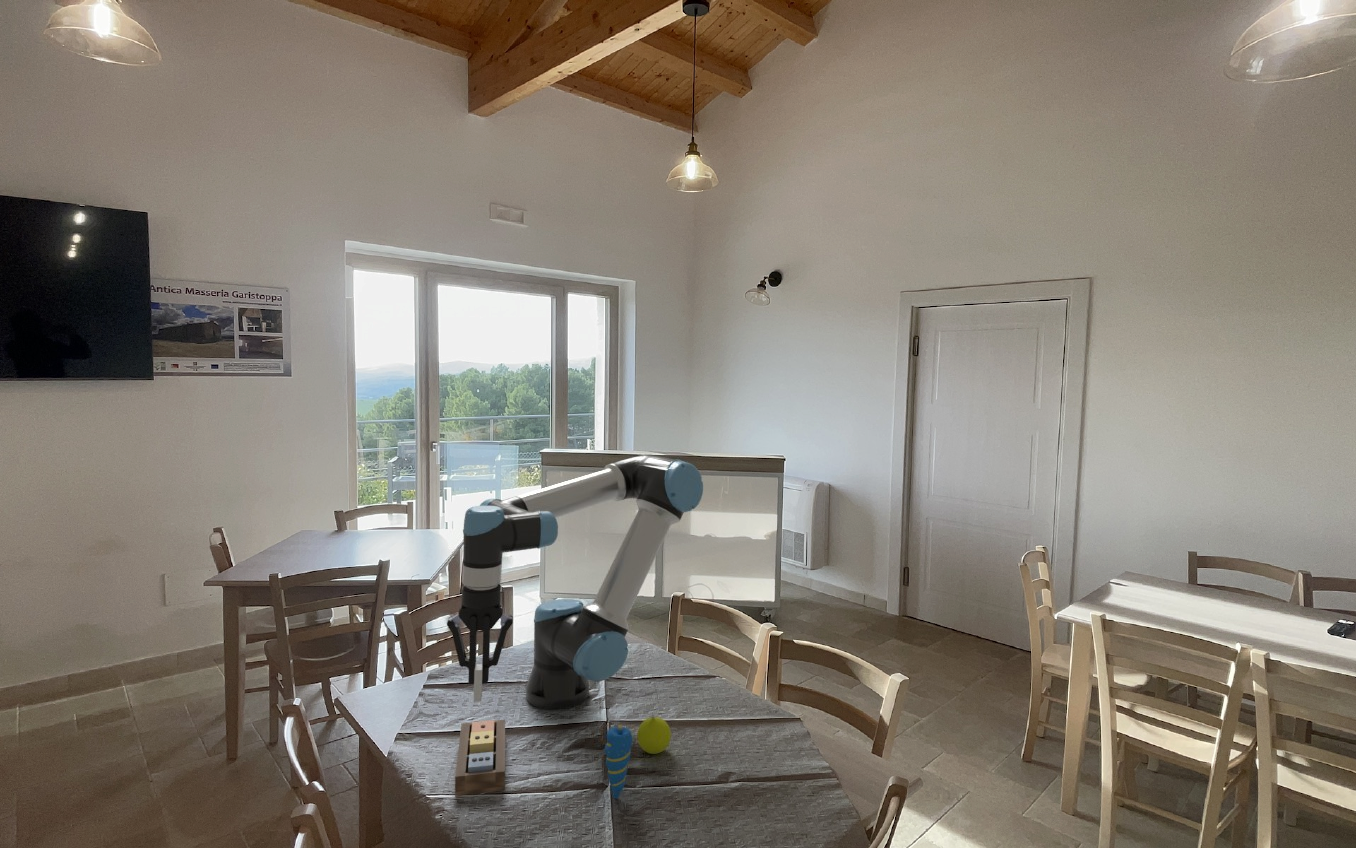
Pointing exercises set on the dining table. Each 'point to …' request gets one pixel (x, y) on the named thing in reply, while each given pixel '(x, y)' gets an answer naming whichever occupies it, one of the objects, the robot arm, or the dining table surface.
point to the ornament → (618, 757)
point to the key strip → (484, 779)
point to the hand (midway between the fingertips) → (477, 698)
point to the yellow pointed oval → (654, 735)
